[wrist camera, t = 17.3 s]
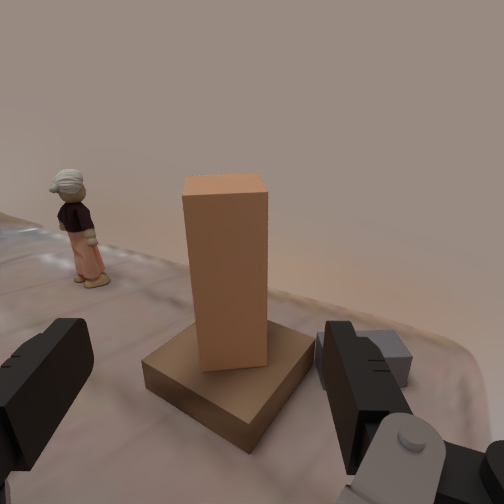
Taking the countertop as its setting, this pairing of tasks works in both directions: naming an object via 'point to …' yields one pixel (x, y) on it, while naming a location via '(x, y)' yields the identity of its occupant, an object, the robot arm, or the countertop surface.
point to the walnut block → (230, 383)
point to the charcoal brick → (389, 347)
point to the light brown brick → (228, 268)
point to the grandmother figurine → (79, 228)
